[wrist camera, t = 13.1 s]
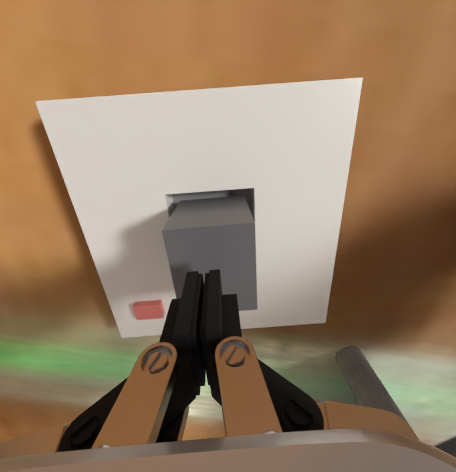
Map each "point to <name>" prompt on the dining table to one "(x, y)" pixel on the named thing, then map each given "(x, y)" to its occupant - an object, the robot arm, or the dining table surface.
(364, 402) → the hip flask
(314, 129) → the socket
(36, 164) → the dining table surface
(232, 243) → the plug
